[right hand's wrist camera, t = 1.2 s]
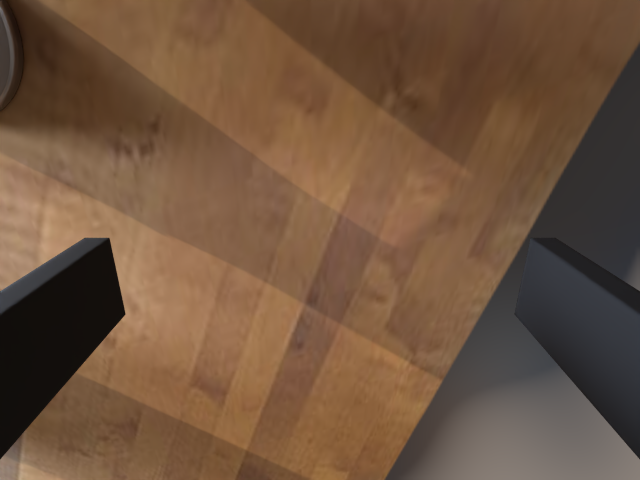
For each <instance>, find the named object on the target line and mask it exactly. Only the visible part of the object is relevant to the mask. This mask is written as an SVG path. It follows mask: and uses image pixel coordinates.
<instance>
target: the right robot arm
mask: <svg viewBox="0 0 640 480" xmlns="http://www.w3.org/2000/svg"><path fill="white" fill-rule="evenodd" d="M22 71H23V47H22V41H21V37H20V33H19V29H18V26H17V23H16V20H15V18H14V16H13V13H12V11H11V9H10V7H9V5H8V3H7V1H6V0H0V111H1V110H2V109H3V108H4V107H6V106H7V104H8V103H9V102H10V101H11V99H12V98H13V97H14V95H15V93H16V91H17V89H18V86H19V84H20V81H21V76H22ZM124 315H125V310H124V305H123V300H122V295H121V291H120V286H119V281H118V276H117V272H116V267H115V262H114V258H113V253H112V248H111V243H110V239H109V238H84V239H82V240H81V241H79V242H78V243H76V244H74V245H73V246H71V247H70V248H68V249H67V250H65V251H63V252H62V253H60V254H59V255H57V256H55V257H54V258H52V259H51V260H49V261H48V262H46V263H44V264H43V265H41V266H40V267H38V268H36V269H35V270H33V271H32V272H30V273H29V274H27V275H25V276H24V277H22V278H21V279H19V280H17V281H16V282H14V283H13V284H11V285H10V286H8V287H6V288H5V289H3V290H2V291H0V459H1V458H2V457H3V455H4V454H5V453H6V452H7V451H8V450H9V448H10V447H11V446H12V445H13V444H14V443H15V442H16V440H17V439H18V438H19V437H20V436H21V435H22V433H23V432H24V431H25V430H26V429H27V428H28V426H29V425H30V424H31V423H32V422H33V421H34V420H35V418H36V417H37V416H38V415H39V414H40V413H41V411H42V410H43V409H44V408H45V407H46V406H47V404H48V403H49V402H50V401H51V400H52V399H53V398H54V396H55V395H56V394H57V393H58V392H59V391H60V389H61V388H62V387H63V386H64V385H65V384H66V383H67V381H68V380H69V379H70V378H71V377H72V376H73V374H74V373H75V372H76V371H77V370H78V369H79V367H80V366H81V365H82V364H83V363H84V362H85V361H86V359H87V358H88V357H89V356H90V355H91V354H92V352H93V351H94V350H95V349H96V348H97V347H98V345H99V344H100V343H101V342H102V341H103V340H104V339H105V337H106V336H107V335H108V334H109V333H110V332H111V330H112V329H113V328H114V327H115V326H116V325H117V323H118V322H119V321H120V320H121V319H122V318H123V317H124ZM515 315H516V317H517V318H518V319H519V320H520V321H521V322H522V323H523V325H524V326H525V327H526V328H527V329H528V330H529V332H530V333H531V334H532V335H533V336H534V337H535V338H536V340H537V341H538V342H539V343H540V344H541V345H542V347H543V348H544V349H545V350H546V351H547V352H548V354H549V355H550V356H551V357H552V358H553V359H554V360H555V362H556V363H557V364H558V365H559V366H560V367H561V369H562V370H563V371H564V372H565V373H566V374H567V376H568V377H569V378H570V379H571V380H572V381H573V382H574V384H575V385H576V386H577V387H578V388H579V389H580V391H581V392H582V393H583V394H584V395H585V396H586V398H587V399H588V400H589V401H590V402H591V403H592V404H593V406H594V407H595V408H596V409H597V410H598V411H599V413H600V414H601V415H602V416H603V417H604V418H605V420H606V421H607V422H608V423H609V424H610V425H611V426H612V428H613V429H614V430H615V431H616V432H617V433H618V435H619V436H620V437H621V438H622V439H623V440H624V442H625V443H626V444H627V445H628V446H629V447H630V448H631V450H632V451H633V452H634V453H635V454H636V455H637V456H638V458H639V459H640V291H638V290H637V289H635V288H634V287H632V286H630V285H629V284H627V283H626V282H624V281H622V280H621V279H619V278H618V277H616V276H615V275H613V274H611V273H610V272H608V271H607V270H605V269H604V268H602V267H600V266H599V265H597V264H596V263H594V262H592V261H591V260H589V259H588V258H586V257H585V256H583V255H581V254H580V253H578V252H577V251H575V250H573V249H572V248H570V247H569V246H567V245H566V244H564V243H562V242H561V241H559V240H558V239H556V238H531V239H530V243H529V248H528V253H527V258H526V262H525V267H524V272H523V276H522V281H521V286H520V291H519V295H518V300H517V305H516V310H515Z"/></svg>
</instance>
